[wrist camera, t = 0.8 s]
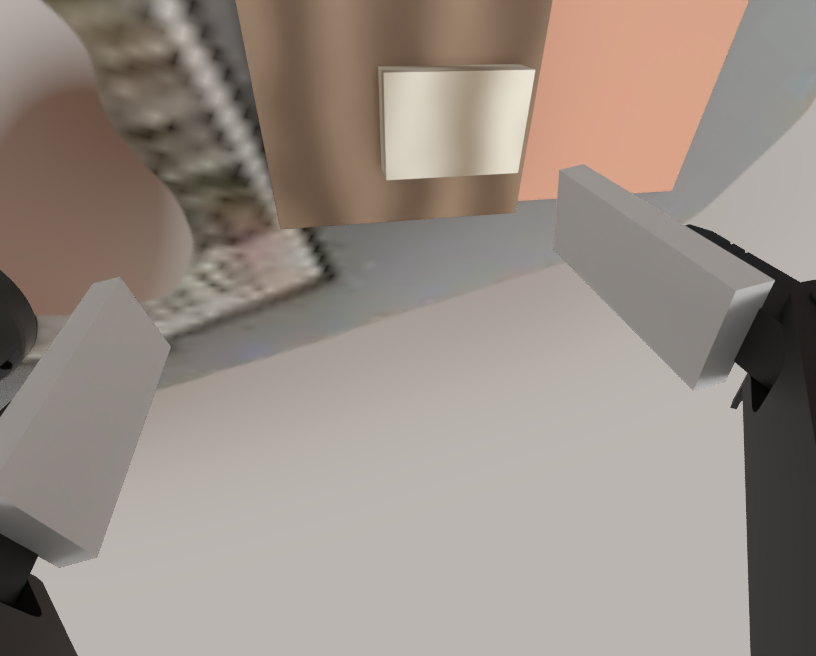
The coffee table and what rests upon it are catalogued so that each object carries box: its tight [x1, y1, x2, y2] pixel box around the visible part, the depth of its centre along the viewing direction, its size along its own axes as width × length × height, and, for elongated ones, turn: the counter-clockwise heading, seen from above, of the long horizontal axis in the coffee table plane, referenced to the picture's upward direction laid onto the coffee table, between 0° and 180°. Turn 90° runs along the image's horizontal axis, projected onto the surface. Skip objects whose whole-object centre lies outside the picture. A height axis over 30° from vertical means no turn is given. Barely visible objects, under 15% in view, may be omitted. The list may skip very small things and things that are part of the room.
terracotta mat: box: [518, 0, 749, 201], centre depth 33 cm, size 16×15×1 cm
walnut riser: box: [235, 0, 553, 229], centre depth 29 cm, size 18×14×4 cm
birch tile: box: [378, 64, 535, 180], centre depth 27 cm, size 9×6×2 cm, turn 90°
